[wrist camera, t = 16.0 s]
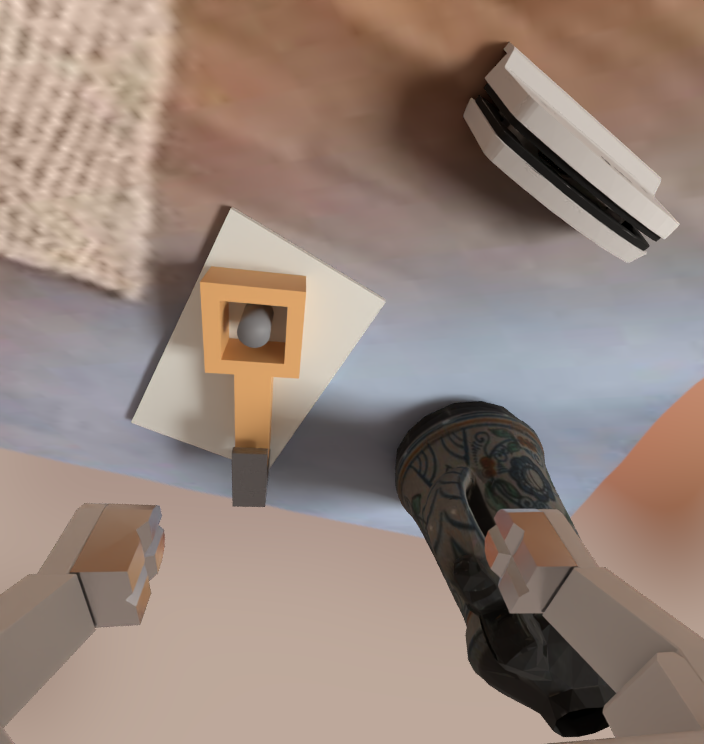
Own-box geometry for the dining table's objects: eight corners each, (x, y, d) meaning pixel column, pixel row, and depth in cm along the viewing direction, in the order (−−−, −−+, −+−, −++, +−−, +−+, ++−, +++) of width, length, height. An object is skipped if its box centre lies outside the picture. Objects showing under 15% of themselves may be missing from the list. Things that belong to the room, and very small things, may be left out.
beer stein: (483, 513, 52) (606, 773, 31) (346, 486, 47) (380, 775, 26) (557, 417, 45) (784, 671, 24) (404, 372, 40) (519, 645, 19)
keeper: (242, 406, 40) (231, 453, 34) (272, 407, 40) (267, 454, 35) (242, 455, 43) (232, 506, 37) (270, 456, 44) (265, 506, 38)
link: (211, 266, 32) (199, 281, 28) (306, 276, 33) (306, 292, 30) (218, 436, 41) (210, 464, 37) (292, 439, 42) (291, 466, 38)
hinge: (655, 172, 32) (723, 234, 26) (602, 219, 36) (650, 285, 29) (504, 37, 27) (541, 72, 20) (457, 107, 30) (475, 156, 23)
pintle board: (134, 417, 39) (113, 451, 35) (232, 206, 31) (220, 218, 26) (267, 467, 44) (263, 502, 40) (384, 298, 36) (395, 320, 31)
